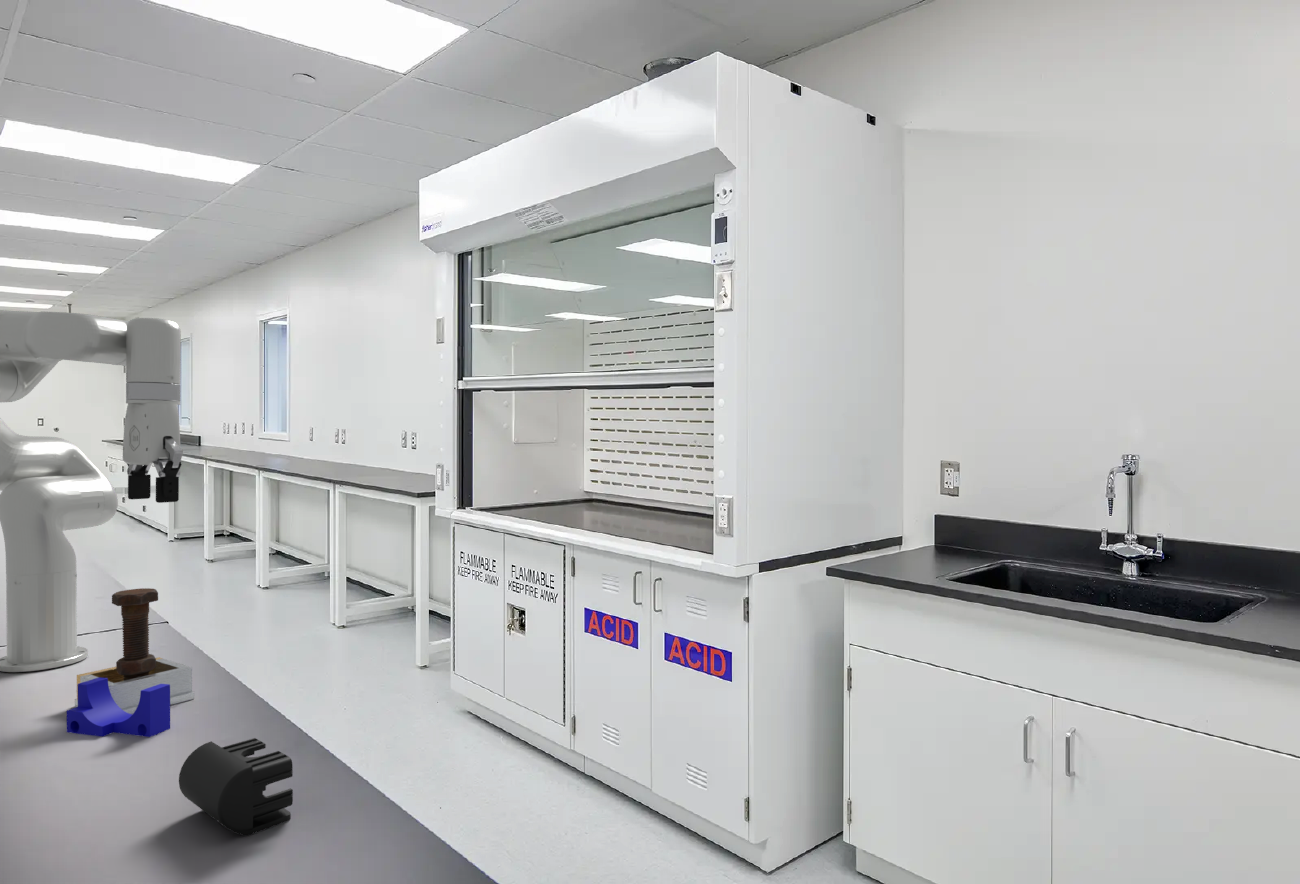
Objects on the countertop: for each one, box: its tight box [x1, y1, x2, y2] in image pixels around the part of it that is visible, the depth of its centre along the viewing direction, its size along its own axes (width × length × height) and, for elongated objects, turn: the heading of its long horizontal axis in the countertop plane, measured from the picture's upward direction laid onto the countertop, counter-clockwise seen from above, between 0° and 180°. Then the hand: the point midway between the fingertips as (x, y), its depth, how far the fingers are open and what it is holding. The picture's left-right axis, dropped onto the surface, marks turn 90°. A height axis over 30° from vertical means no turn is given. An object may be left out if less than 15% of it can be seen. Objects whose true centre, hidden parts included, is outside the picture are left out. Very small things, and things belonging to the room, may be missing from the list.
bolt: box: [111, 587, 159, 681], centre depth 114 cm, size 6×5×15 cm
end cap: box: [178, 737, 294, 837], centre depth 79 cm, size 10×7×7 cm
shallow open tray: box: [74, 657, 195, 714], centre depth 114 cm, size 11×11×4 cm
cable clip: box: [66, 677, 171, 738], centre depth 103 cm, size 12×4×6 cm, turn 74°
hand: (152, 500), depth 129 cm, fingers open, 9 cm apart
